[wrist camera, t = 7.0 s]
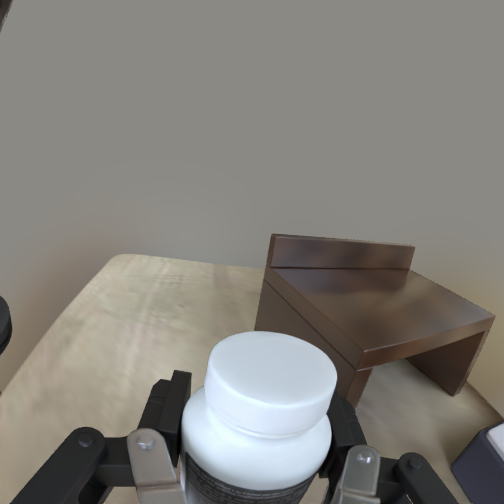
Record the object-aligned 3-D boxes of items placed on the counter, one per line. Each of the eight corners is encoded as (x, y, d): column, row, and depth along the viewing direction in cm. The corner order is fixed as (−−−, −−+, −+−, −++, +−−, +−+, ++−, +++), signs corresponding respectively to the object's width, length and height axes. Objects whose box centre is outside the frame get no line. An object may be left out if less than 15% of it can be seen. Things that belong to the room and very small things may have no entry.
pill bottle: (306, 528, 11) (393, 394, 8) (201, 560, 8) (220, 447, 6) (260, 458, 15) (301, 314, 13) (168, 476, 13) (167, 322, 10)
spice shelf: (318, 455, 16) (379, 305, 13) (250, 351, 26) (271, 233, 24) (459, 393, 22) (505, 288, 19) (383, 333, 32) (410, 244, 30)
